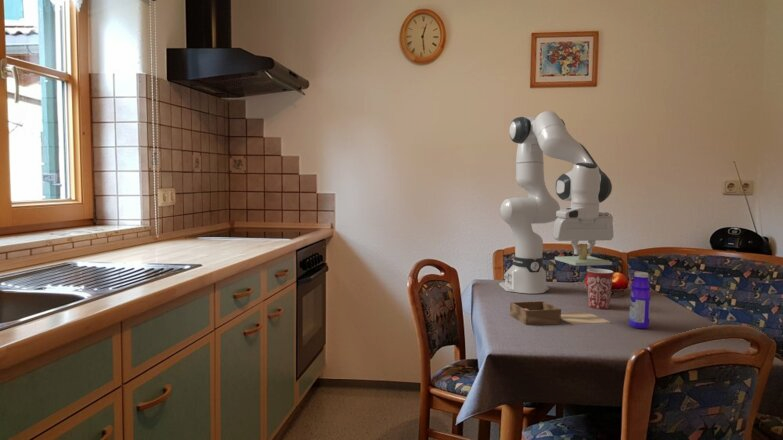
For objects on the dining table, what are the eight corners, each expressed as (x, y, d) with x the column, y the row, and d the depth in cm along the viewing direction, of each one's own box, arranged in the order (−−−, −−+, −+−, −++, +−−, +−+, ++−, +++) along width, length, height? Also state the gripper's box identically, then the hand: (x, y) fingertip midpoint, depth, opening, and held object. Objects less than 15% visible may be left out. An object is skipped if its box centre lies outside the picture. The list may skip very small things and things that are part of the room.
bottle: (626, 323, 181) (629, 270, 180) (644, 324, 180) (647, 271, 179) (632, 329, 174) (635, 274, 173) (651, 330, 173) (654, 274, 172)
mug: (610, 311, 198) (612, 273, 197) (584, 308, 202) (585, 271, 201) (613, 304, 209) (615, 268, 208) (588, 301, 213) (589, 266, 212)
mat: (550, 315, 190) (550, 313, 190) (587, 313, 193) (587, 312, 193) (572, 326, 177) (572, 324, 176) (611, 324, 180) (611, 322, 179)
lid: (554, 259, 188) (555, 241, 188) (589, 258, 191) (589, 241, 191) (575, 265, 176) (576, 246, 175) (611, 264, 178) (612, 246, 178)
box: (509, 317, 187) (510, 302, 187) (542, 315, 190) (543, 301, 189) (525, 326, 175) (526, 310, 175) (560, 324, 178) (561, 309, 177)
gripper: (607, 211, 187) (605, 252, 189) (551, 211, 183) (550, 253, 184) (618, 213, 181) (616, 255, 182) (561, 213, 177) (559, 256, 178)
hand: (582, 254), depth 183 cm, fingers closed on lid, 3 cm apart
